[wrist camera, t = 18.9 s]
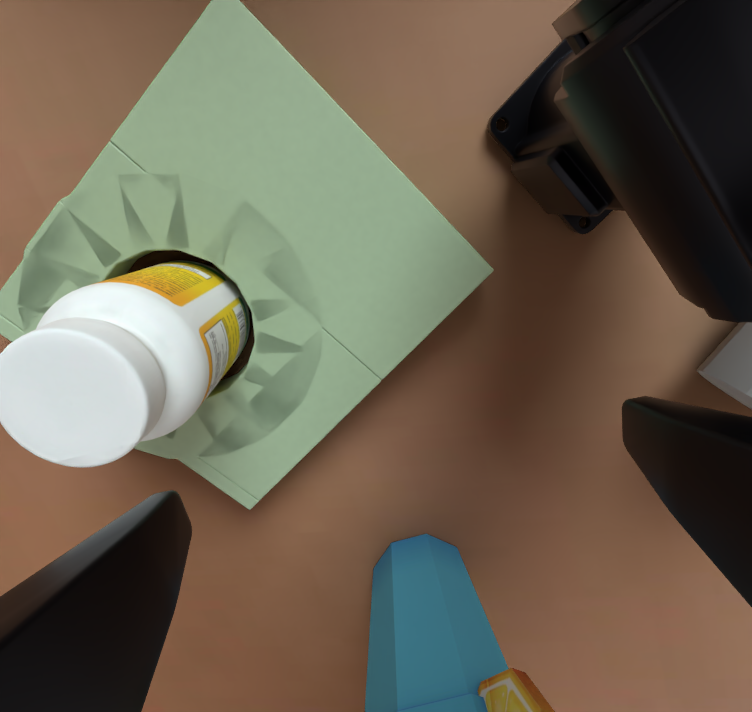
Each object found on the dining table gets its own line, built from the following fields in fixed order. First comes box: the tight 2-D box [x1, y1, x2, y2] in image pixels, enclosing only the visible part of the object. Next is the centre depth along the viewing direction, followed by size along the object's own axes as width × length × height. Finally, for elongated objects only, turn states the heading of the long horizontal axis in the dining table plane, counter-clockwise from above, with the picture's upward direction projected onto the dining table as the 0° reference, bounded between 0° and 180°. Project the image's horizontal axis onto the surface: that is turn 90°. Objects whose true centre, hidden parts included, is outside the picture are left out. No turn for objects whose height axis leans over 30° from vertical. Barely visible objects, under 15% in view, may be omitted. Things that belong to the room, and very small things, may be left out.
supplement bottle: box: [0, 260, 250, 468], centre depth 17 cm, size 5×5×10 cm
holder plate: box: [0, 0, 494, 510], centre depth 20 cm, size 17×14×2 cm
